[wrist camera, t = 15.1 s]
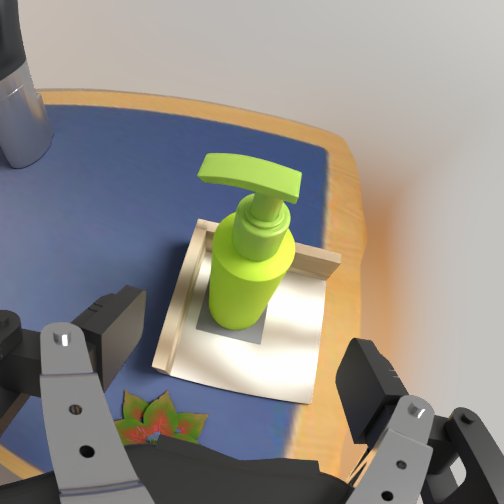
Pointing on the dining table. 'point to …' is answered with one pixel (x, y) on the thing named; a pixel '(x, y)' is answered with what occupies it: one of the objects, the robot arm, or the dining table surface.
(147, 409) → the lily flower
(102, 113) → the dining table surface
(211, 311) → the soap dispenser
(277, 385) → the corner arena
